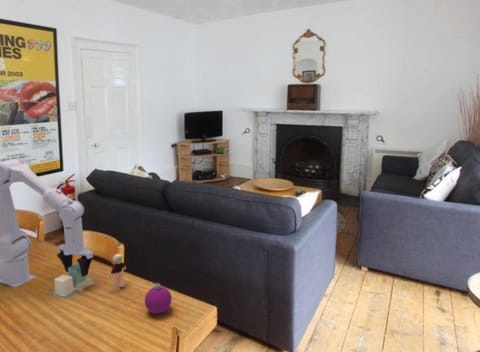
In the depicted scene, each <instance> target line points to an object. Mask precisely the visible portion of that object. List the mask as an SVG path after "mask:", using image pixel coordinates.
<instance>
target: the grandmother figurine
mask: <svg viewBox="0 0 480 352" xmlns="http://www.w3.org/2000/svg"><path fill="white" fill-rule="evenodd" d="M123 257H124V256H123V255H122V254H120V253H116V254H114V256H113V257H112V261H113V262H114V265H113V266H112V268H111V271H110V275H109V279H113V288H112V289H113V291H114V292H117V291H120V290H121V288H124V287H125V286H126V284H125V278H124V272H123V270H126V269H127V267H126V264H125V263H124V262H123Z"/></svg>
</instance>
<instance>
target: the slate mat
mask: <svg viewBox="0 0 480 352" xmlns="http://www.w3.org/2000/svg"><path fill="white" fill-rule="evenodd" d="M86 278H90V279H91V280H92V283H91V284H89V285H88V286H86V287H84V288H83V289H81V290H80V289H77V288H74V287H73V289H74V290H73V291H71V292H69V293H68V294H66V295H64V296H63V295H60V294H57V293H55V288H53V289H52V290H50V291H47V294H49V295H51V296H53V297H57V298H59V299H63V300H68V299H70V298H71V297H73V296H75V295H76V294H78V293H79V292H81V291H83V290H84V289H86V288H88V287H89V286H91V285H94V283H96V282H98V281H99V280H98V279H95V278H91V277H87V276H86Z"/></svg>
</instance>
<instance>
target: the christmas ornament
mask: <svg viewBox="0 0 480 352" xmlns="http://www.w3.org/2000/svg"><path fill="white" fill-rule="evenodd" d="M144 304H145V308H146V309H147V310H148V311H149V313H150V312H151V314H152V313H153V314H156V315H158V314H162V313H164V312H166V311H167V310H168V309H169V308H170V306H171V304H172V294H171V292H170V290H169V289H167V288H166V287H164V286H161V284H160V283H159V282H156V283H155V285H154V286H153V287H151V288H150V289H149V290H148V291H147V293H146V294H145V297H144Z"/></svg>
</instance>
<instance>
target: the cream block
mask: <svg viewBox="0 0 480 352" xmlns="http://www.w3.org/2000/svg"><path fill="white" fill-rule="evenodd" d="M53 282H54V283H53V284H54V289H55V293H57V294H60V295H63V296H64V295H66V294H68V293H69V292H71V291H73V290H74V289H73V278H72V276H69V275H68V274H65V273H64V274H61V275H60V276H58V277H56V278H54V279H53Z"/></svg>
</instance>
